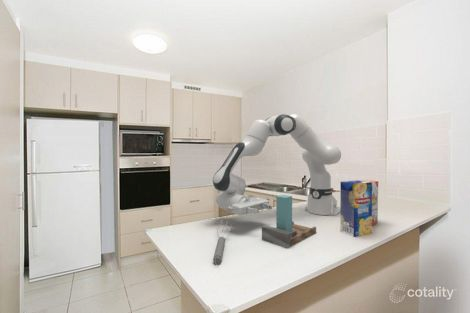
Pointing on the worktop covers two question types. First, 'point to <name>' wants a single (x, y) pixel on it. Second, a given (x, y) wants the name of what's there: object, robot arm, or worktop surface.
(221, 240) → the kitchen whisk
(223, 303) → the worktop surface
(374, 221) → the cracker box
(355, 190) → the beverage box
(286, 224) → the teal block on base
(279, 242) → the track
